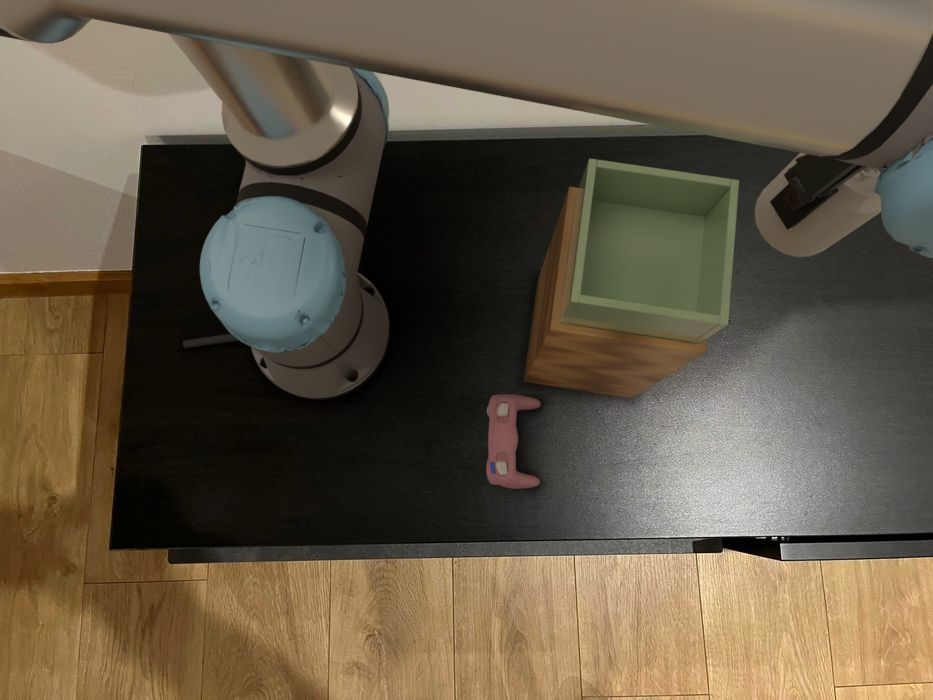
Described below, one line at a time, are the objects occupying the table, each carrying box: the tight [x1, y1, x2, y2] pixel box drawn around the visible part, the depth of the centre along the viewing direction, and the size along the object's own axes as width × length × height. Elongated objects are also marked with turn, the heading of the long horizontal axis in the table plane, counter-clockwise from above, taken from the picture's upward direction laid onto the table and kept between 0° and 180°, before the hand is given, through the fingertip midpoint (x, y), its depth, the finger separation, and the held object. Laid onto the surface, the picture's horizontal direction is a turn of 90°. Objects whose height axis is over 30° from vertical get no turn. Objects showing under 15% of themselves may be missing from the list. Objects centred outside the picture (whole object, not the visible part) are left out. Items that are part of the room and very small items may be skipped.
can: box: [754, 152, 881, 258], centre depth 56 cm, size 8×8×12 cm
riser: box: [523, 186, 708, 399], centre depth 66 cm, size 12×12×24 cm
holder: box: [559, 158, 740, 344], centre depth 51 cm, size 11×11×6 cm
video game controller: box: [485, 393, 542, 490], centre depth 73 cm, size 10×5×7 cm, turn 178°
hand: (825, 193), depth 56 cm, fingers closed on can, 7 cm apart
